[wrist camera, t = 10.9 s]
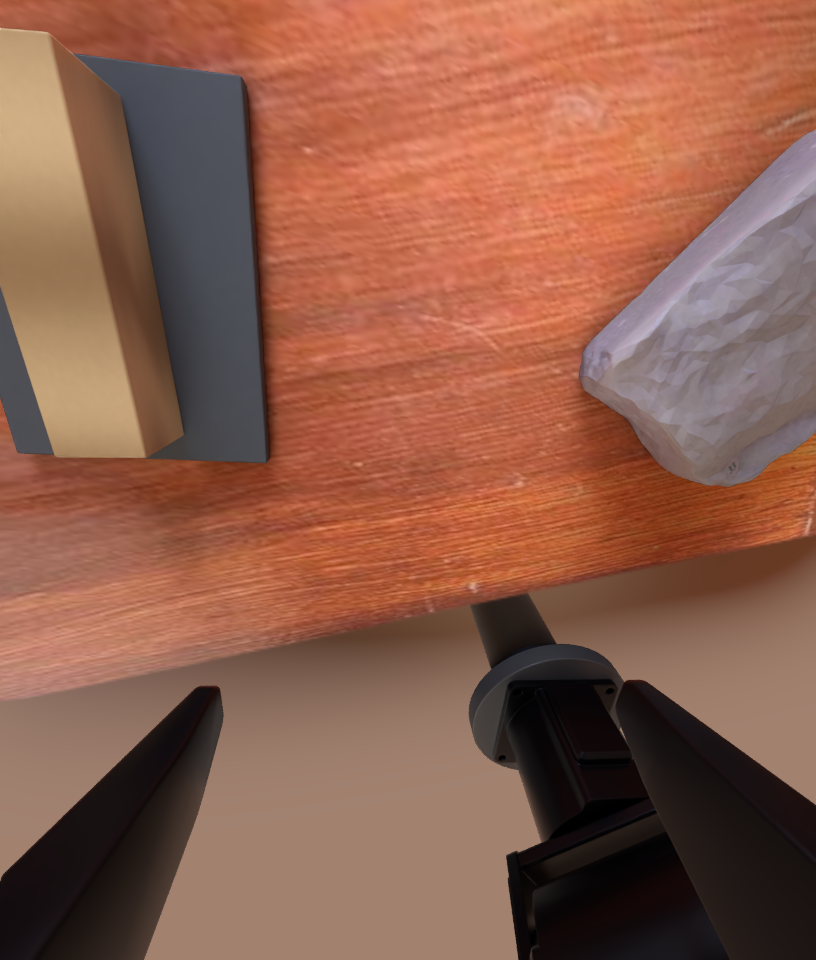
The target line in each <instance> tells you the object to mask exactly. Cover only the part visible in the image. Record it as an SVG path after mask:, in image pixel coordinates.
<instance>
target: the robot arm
mask: <svg viewBox="0 0 816 960" xmlns="http://www.w3.org/2000/svg"><path fill="white" fill-rule="evenodd" d="M617 692H618V687H617V686H616V684H615V683H614V681H613V680H611V679H573V680H515V681H512V682H510V683H509V684H508V686H507V689H506V693H505V698H504V702H503V707H502V711H501V716H500V720H499V725H498V729H497V734H496V738H495V743H494V747H493V757H494V760H495V761H496V762H497V763H516V764H517V767H518V770H519V773H520V777H521V779H522V783H523V786H524V789H525V792H526V795H527V799H528V802H529V805H530V808H531V811H532V814H533V817H534V820H535V824H536V827H537V830H538V833H539V836H540V839H541V842H542V843H540V844H538V845H535V846H533V847H531V848H528V849H526V850H524V851H521V852H517V851H515V852H512V853H510V854H508V855H506V859H507V866H508V873H509V877H508V885H509V892H510V900H511V907H512V915H513V922H514V929H515V937H516V944H517V952H518V959H519V960H816V805H815V804H814V803H812V802H811V801H810V800H808V799H807V798H805V797H804V796H803V795H801V794H800V793H798V792H797V791H796V790H794V789H793V788H792V787H790V786H789V785H788V784H786V783H785V782H783V781H782V780H781V779H779V778H778V777H777V776H775V775H774V774H772V773H771V772H770V771H768V770H767V769H766V768H764V767H763V766H761V765H760V764H759V763H757V762H756V761H755V760H753V759H752V758H751V757H749V756H748V755H746V754H745V753H744V752H742V751H741V750H740V749H738V748H737V747H735V746H734V745H733V744H731V743H730V742H729V741H727V740H726V739H724V738H723V737H721V736H720V735H719V734H718V733H716V732H715V731H713V730H712V729H711V728H709V727H708V726H707V725H705V724H704V723H703V722H701V721H699V720H698V719H697V718H696V717H694V716H693V715H691V714H690V713H689V712H687V711H686V710H685V709H683V708H682V707H681V706H679V705H678V704H676V703H675V702H674V701H672V700H671V699H670V698H668V697H667V696H666V695H664V694H663V693H661V692H660V691H658V690H657V689H656V688H655V687H653V686H652V685H650V684H649V683H648V682H646V681H643V680H627V681H625V682H624V684H623V686H622V689H621V691H620V694H619V697H618V699H617V702H616V707H615V709H616V715H617V718H618V721H619V723H620V726H621V728H622V731H623V733H624V736H625V738H626V739H625V738H624V736H623V735H622V733H621V731H620V729H619V728H618V726H617V724H616V723H615V721H614V719H613V718H612V716H611V714H610V711H611V709H612V706H613V703H614V700H615V698H616V695H617ZM222 723H223V706H222V700H221V693H220V688H219V687H218V686H199V687H197V688H195V689H194V690H193V691H192V692H191V693H190V694H189V695H188V696H187V697H186V698H185V699H184V700H183V701H182V702H181V703H180V704H179V705H178V706H177V707H175V709H173V711H171V712H170V713H169V714H168V715H167V716H166V717H165V718H164V719H163V720H162V721H161V722H160V723H159V724H158V725H157V726H156V727H155V728H154V729H153V730H152V731H151V732H150V733H149V734H148V735H147V736H146V737H144V738H143V739H142V740H141V741H140V742H139V743H138V744H137V745H136V746H135V747H134V748H133V749H132V750H131V751H130V752H129V753H128V754H127V755H126V756H125V757H124V758H123V759H122V760H121V761H120V762H119V763H118V764H117V765H116V766H115V767H114V768H112V770H110V771H109V772H108V773H107V774H106V775H105V776H104V777H103V778H102V779H101V780H100V781H99V782H98V783H97V784H96V785H95V786H94V787H93V788H92V789H91V790H90V791H89V792H88V793H87V794H86V795H85V796H84V797H83V798H82V799H80V800H79V801H78V802H77V803H76V804H75V805H74V806H73V807H72V808H71V809H70V810H69V811H68V812H67V813H66V814H65V815H64V816H63V817H62V818H61V819H60V820H59V821H58V822H57V823H56V824H55V825H54V826H53V827H52V828H51V829H49V831H47V832H46V833H45V834H44V835H43V836H42V837H41V838H40V839H39V840H38V841H37V842H36V843H35V844H34V845H33V846H32V847H31V848H30V849H29V850H28V851H27V852H26V853H25V854H24V855H23V856H22V857H21V858H20V859H19V860H18V861H17V862H15V863H14V864H13V865H12V866H11V867H10V868H9V869H8V870H7V871H6V872H5V873H4V874H3V876H2V877H1V881H0V960H144V958H145V956H146V953H147V950H148V947H149V945H150V942H151V939H152V937H153V934H154V931H155V929H156V926H157V923H158V921H159V918H160V915H161V912H162V910H163V907H164V904H165V902H166V899H167V896H168V894H169V891H170V888H171V886H172V883H173V880H174V877H175V875H176V872H177V869H178V867H179V864H180V861H181V859H182V855H183V853H184V850H185V847H186V845H187V842H188V840H189V837H190V834H191V832H192V829H193V826H194V823H195V820H196V817H197V815H198V811H199V808H200V805H201V801H202V798H203V794H204V791H205V787H206V783H207V779H208V776H209V772H210V768H211V765H212V761H213V757H214V753H215V750H216V746H217V742H218V739H219V735H220V731H221V727H222Z"/></svg>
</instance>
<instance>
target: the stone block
mask: <svg viewBox="0 0 816 960" xmlns="http://www.w3.org/2000/svg"><path fill="white" fill-rule="evenodd" d="M579 377H580V381H581V384H582V387H583V389H584V390H585V391H586V392H588V393H589V394H590V395H592V396H593V397H595V398H598V399H599V400H600V401H601V402H603V403H604V404H605V405H607V406H608V407H609V408H611V409H612V410H614V411H616V412H617V413H619V414H621V415H623V416H624V417H625V418H626V419H627V420H628V421H629V422H630V424H631V426H632V428H633V429H634V431H635V433H636V435H637V437H638V438H639V440H640V442H641V443H642V444H643V445H644V447H645V448H646V449H647V450H648V451H649V453H650V454H651V455H652V457H653V459H654V460H655V461H656V462H657V463H658V464H659V465H660V466H662V467H663V468H664V469H665V470H667V471H669V472H671V473H673V474H674V475H676V476H678V477H683V478H685V479H687V480H690V481H694V482H697V483H700V484H704V485H708V486H712V485H718V486H724V487H730V486H733V485H736V484H740V483H744V482H749V481H752V480H753V479H755V478H756V477H758V476H759V475H760V474H761V473H762V471H763V470H764V469H765V468H766V467H767V466H768V465H769V464H770V463H771V462H773V461H774V460H776V459H777V458H779V457H780V456H782V455H784V454H788V453H790V452H792V451H793V450H795V449H796V448H797V447H799V446H800V445H801V444H803V443H804V442H805V441H807V440H808V439H809V438H810V437H811V436H812V435H813V434H814V433H815V432H816V130H814V131H812V132H809V133H807V134H805V135H804V136H803V137H801V138H800V139H799V140H797V141H796V142H794V143H793V144H792V145H791V146H790V147H789V148H788V149H787V150H786V151H785V152H783V153H782V154H781V155H780V156H779V157H778V158H777V159H776V160H775V161H774V162H773V163H772V164H771V165H770V166H769V167H767V168H766V169H765V170H764V171H763V172H762V173H761V174H760V175H759V176H758V177H757V178H756V179H755V180H754V181H753V182H752V183H751V184H750V185H749V186H748V187H747V188H746V189H745V190H744V191H743V192H742V193H741V194H740V195H739V196H738V197H737V198H736V199H735V200H734V201H733V202H732V203H731V204H730V205H729V206H728V207H727V208H726V209H725V210H724V211H723V212H722V213H721V214H720V215H719V216H718V217H717V218H716V219H715V220H714V221H713V222H712V223H711V224H710V225H709V226H708V227H707V228H706V229H705V230H704V231H703V232H702V233H701V234H700V235H699V236H698V237H697V238H696V239H694V240H693V241H692V242H691V243H690V244H689V245H688V247H687V248H686V249H685V250H684V251H683V252H682V253H681V254H680V255H679V256H678V257H677V258H676V259H675V260H674V261H672V262H671V263H670V264H669V265H668V266H667V267H666V268H665V269H664V270H663V271H662V272H661V273H660V274H659V275H658V276H657V277H656V278H655V279H654V280H653V281H652V282H651V283H650V284H649V285H648V286H647V287H646V288H645V289H644V291H643V292H642V293H641V294H640V295H639V296H637V297H636V298H635V299H634V300H632V301H631V302H630V303H629V304H628V305H627V306H626V307H625V308H624V309H623V310H622V311H621V312H620V313H619V314H618V315H617V316H616V317H615V318H614V319H613V320H612V321H611V322H610V323H609V324H608V325H607V326H605V327H604V328H603V329H602V330H601V332H600V333H599V334H598V335H597V336H595V337H594V338H593V339H592V340H591V342H590V343H589V344H588V345H587V347H586V349H585V350H584V352H583V355H582V362H581V367H580V372H579Z"/></svg>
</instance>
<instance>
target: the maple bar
mask: <svg viewBox="0 0 816 960" xmlns="http://www.w3.org/2000/svg"><path fill="white" fill-rule="evenodd" d="M0 287H1V290H2V293H3V296H4V299H5V302H6V306H7V309H8V312H9V315H10V318H11V321H12V324H13V327H14V331H15V334H16V337H17V340H18V343H19V346H20V349H21V352H22V356H23V359H24V362H25V365H26V368H27V371H28V374H29V377H30V381H31V384H32V387H33V390H34V393H35V396H36V399H37V402H38V406H39V409H40V412H41V415H42V418H43V421H44V424H45V427H46V430H47V434H48V437H49V440H50V443H51V446H52V449H53V452H54V455H55V457H57V458H146V457H148V456H150V455H152V454H153V453H155V452H157V451H158V450H160V449H162V448H163V447H165V446H167V445H169V444H170V443H172V442H174V441H175V440H177V439H179V438H180V437H182V436H184V431H183V426H182V421H181V415H180V410H179V405H178V399H177V394H176V389H175V383H174V378H173V373H172V367H171V362H170V357H169V351H168V346H167V341H166V335H165V330H164V325H163V319H162V314H161V309H160V303H159V298H158V293H157V287H156V282H155V277H154V271H153V266H152V261H151V255H150V250H149V245H148V239H147V234H146V229H145V223H144V218H143V213H142V207H141V202H140V197H139V191H138V186H137V181H136V175H135V170H134V164H133V159H132V154H131V148H130V143H129V138H128V132H127V127H126V122H125V116H124V111H123V106H122V100H121V97H120V95H119V94H118V93H116V92H115V91H114V90H113V89H112V88H111V87H110V86H109V85H107V84H106V83H105V82H104V81H103V80H102V79H101V78H99V77H98V76H97V75H96V74H95V73H94V72H93V71H92V70H90V69H89V68H88V67H87V66H86V65H85V64H84V63H83V62H81V61H80V60H79V59H78V58H77V57H76V56H75V55H74V54H72V53H71V52H70V51H69V50H68V49H67V48H66V47H65V46H63V45H62V44H61V43H60V42H59V41H58V40H57V39H55V38H54V37H53V36H52V35H51V34H50V33H48V32H41V31H30V30H18V29H7V28H0Z"/></svg>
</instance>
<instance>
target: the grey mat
mask: <svg viewBox="0 0 816 960" xmlns="http://www.w3.org/2000/svg"><path fill="white" fill-rule="evenodd" d="M72 54H73V53H72ZM74 55H75V56H76V57H77V58H78V59H79V60H80V61H81V62H83V63H84V64H85V65H86V66H87V67H88V68H89V69H90V70H92V71H93V72H94V73H95V74H96V75H97V76H98V77H99V78H101V79H102V80H103V81H104V82H105V83H106V84H107V85H109V86H110V87H111V88H112V89H113V90H114V91H115V92H116V93H118V94H119V95H120V97H121V100H122V106H123V111H124V116H125V122H126V127H127V132H128V138H129V143H130V148H131V154H132V159H133V164H134V170H135V175H136V181H137V186H138V191H139V197H140V202H141V207H142V213H143V218H144V223H145V229H146V234H147V239H148V245H149V250H150V255H151V261H152V266H153V271H154V277H155V282H156V287H157V293H158V298H159V303H160V309H161V314H162V319H163V325H164V330H165V335H166V341H167V346H168V351H169V357H170V362H171V367H172V373H173V378H174V383H175V389H176V394H177V399H178V405H179V410H180V415H181V421H182V426H183V431H184V436H182V437H180V438H179V439H177V440H175V441H174V442H172V443H170V444H169V445H167V446H165V447H163V448H162V449H160V450H158V451H157V452H155V453H153V454H152V455H150V456H148V457H146V458H149V459H174V460H199V461H224V462H249V463H267V462H268V461H269V459H270V453H269V437H268V421H267V405H266V389H265V373H264V356H263V340H262V324H261V308H260V292H259V276H258V259H257V243H256V227H255V211H254V195H253V179H252V162H251V146H250V130H249V114H248V98H247V86H246V84H245V82H244V80H243V78H242V77H241V76H238V75H230V74H223V73H215V72H208V71H200V70H193V69H186V68H178V67H171V66H163V65H156V64H148V63H141V62H133V61H126V60H118V59H111V58H103V57H96V56H88V55H81V54H74ZM0 398H1V401H2V404H3V408H4V411H5V414H6V417H7V421H8V424H9V427H10V430H11V433H12V437H13V440H14V443H15V446H16V450H17V452H18V453H24V454H49V455H54V452H53V449H52V446H51V443H50V440H49V437H48V434H47V430H46V427H45V424H44V421H43V418H42V415H41V412H40V409H39V406H38V402H37V399H36V396H35V393H34V390H33V387H32V384H31V381H30V377H29V374H28V371H27V368H26V365H25V362H24V359H23V356H22V352H21V349H20V346H19V343H18V340H17V337H16V334H15V331H14V327H13V324H12V321H11V318H10V315H9V312H8V309H7V306H6V302H5V299H4V296H3V293H2V290H1V287H0Z"/></svg>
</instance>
